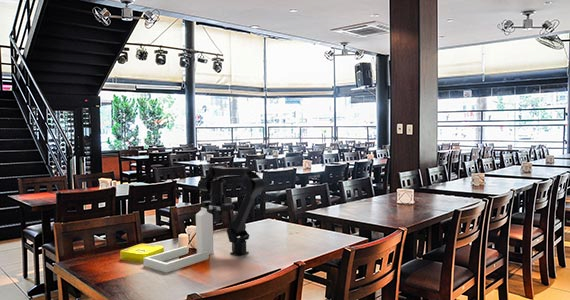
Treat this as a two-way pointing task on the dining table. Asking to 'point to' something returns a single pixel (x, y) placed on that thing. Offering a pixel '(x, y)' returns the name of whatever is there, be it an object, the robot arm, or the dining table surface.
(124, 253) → the element tile
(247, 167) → the robot arm
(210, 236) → the milk
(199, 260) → the u rest
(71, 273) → the dining table surface
